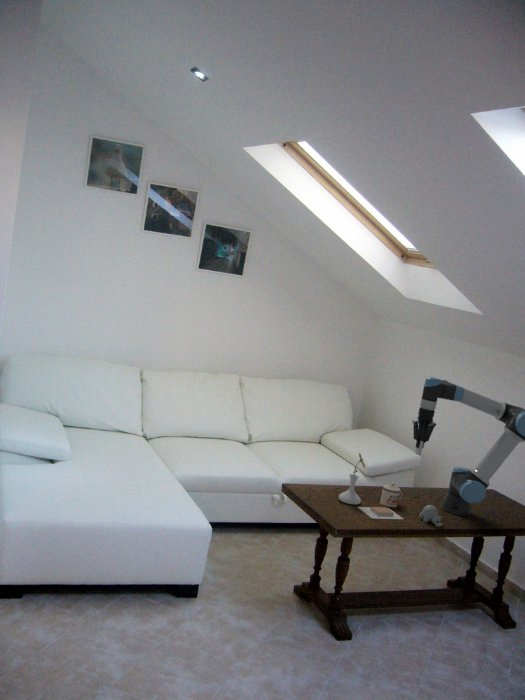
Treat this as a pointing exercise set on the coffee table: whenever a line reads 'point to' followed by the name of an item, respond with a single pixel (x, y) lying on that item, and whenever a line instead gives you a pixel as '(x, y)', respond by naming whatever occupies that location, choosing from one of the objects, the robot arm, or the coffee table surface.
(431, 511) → the chubby cartoon animal
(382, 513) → the tile
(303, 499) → the coffee table surface
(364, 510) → the mat
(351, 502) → the flower in vase
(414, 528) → the coffee table surface
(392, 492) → the teacup with lid
